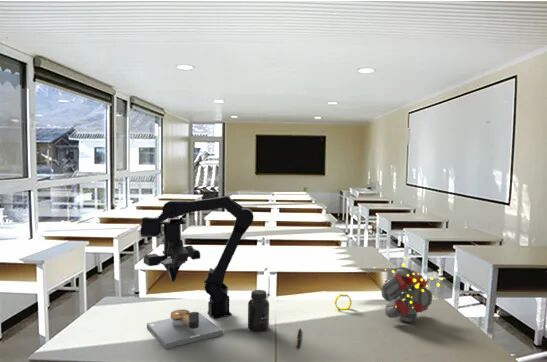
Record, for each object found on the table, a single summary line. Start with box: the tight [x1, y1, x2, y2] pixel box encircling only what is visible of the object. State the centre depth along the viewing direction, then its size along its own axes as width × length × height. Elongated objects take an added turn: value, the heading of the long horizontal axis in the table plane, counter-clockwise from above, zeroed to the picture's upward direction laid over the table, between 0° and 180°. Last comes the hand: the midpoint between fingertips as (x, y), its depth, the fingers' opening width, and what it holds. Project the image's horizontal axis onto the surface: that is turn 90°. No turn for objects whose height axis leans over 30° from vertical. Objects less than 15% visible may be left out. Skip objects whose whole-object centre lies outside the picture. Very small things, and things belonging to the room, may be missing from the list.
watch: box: [334, 292, 353, 311], centre depth 154 cm, size 6×3×6 cm, turn 96°
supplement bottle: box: [247, 289, 270, 333], centre depth 136 cm, size 7×7×12 cm
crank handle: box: [170, 309, 200, 328], centre depth 133 cm, size 14×6×4 cm, turn 36°
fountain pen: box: [295, 328, 302, 349], centre depth 129 cm, size 14×1×2 cm, turn 173°
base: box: [146, 311, 223, 349], centre depth 134 cm, size 18×18×4 cm
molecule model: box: [373, 256, 444, 323], centre depth 143 cm, size 25×21×23 cm
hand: (172, 281), depth 147 cm, fingers closed
